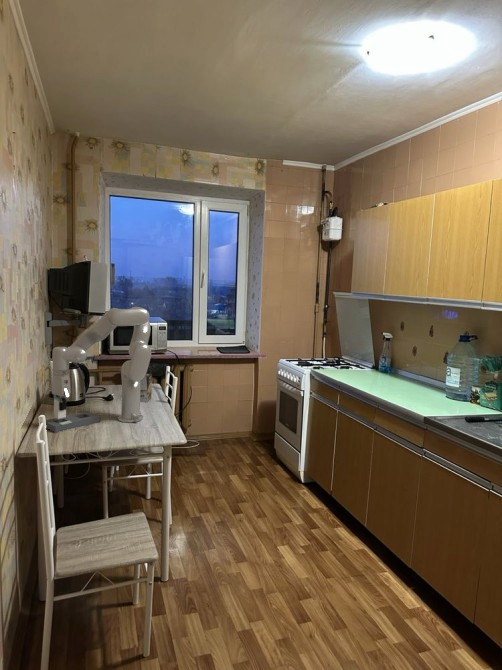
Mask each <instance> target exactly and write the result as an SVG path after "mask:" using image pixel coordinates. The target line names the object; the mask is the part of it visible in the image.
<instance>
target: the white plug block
mask: <svg viewBox="0 0 502 670" xmlns="http://www.w3.org/2000/svg"><path fill="white" fill-rule="evenodd" d="M63 398H64V397H62V399H63ZM59 403H60V396H58V397H54V396H53V418H57V419H60V418H64V417H66V416H67V409H66V410H61V411H60V410H59Z"/></svg>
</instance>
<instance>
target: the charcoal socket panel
mask: <svg viewBox="0 0 502 670" xmlns="http://www.w3.org/2000/svg"><path fill="white" fill-rule="evenodd" d="M100 422H101V416H100V415H98V414H95V413H92V412H89V411H82V412H78V413H72V414H69V415H67V414H66V417H64V418H60V419H57V418H55V417H53V418H49V419H46V425H47V428H48V429H50V430H49V431H51V430H52V431H51V432H53V431H54V432H53V433H55V432H56V433H60V432H63V430H64V431H67V429H69V430H72V429H71V428H73V429H76V427H77V428H80V427H85V426H89V425H92V424H97V423H100ZM48 429H47V430H48ZM59 431H60V432H59Z"/></svg>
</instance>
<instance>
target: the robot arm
mask: <svg viewBox="0 0 502 670" xmlns="http://www.w3.org/2000/svg"><path fill="white" fill-rule="evenodd" d="M150 322H151V321H150V313H149V310H147V309H146V308H145V307H144V308H143V307H141V306H133V307H131V308H117V307H113V308H110V309H108V310H107V311H106V312H105V313H104V314H103V315H102V316H101V317H100V318H99V319H98V320H97V322H96V323H94V324H93V325H92V326H91V327H90V328H89V329H87V331H85V332H84V333H83V334H81V335H80V336H79V337H78V338H77V339H75V341H74V342H73V343H72V344H71V345H70V346H69V348H68V347H67V346H56V347H54V348H52V355H51V357H52V366H51V368H52V371H51V376H52V379H51V394H52V396H53V398H54V397H58V396H60V403H59V410H60V411H61V410H66V411H67V402H68V399H70V396H71V378H70V363H77V364H79V363H83V362H84V361H86V359H87V357H88V353H87V351H88V350H89V349H90V348H91V347H92V346H94V345H95V344H96V343H99V342H102V341H103V340H105V339H106V338H107V337H108V336H109V335H110V334H112V332H113V331H114V330H115V329H116V328H117V327H129V326H133V333H132V337H131V340H130V344H129V346H128V354H129V356H130V357H131V358H130V359H128V360H126V361H125V362H123V364H122V365H121V367H120V376H121V377H120V378H121V412H120V415H119V416H118V417H117V418H118V421H120V422H123V423H137V422H140V421H142V420H143V418H144V415H143V414H142V413H141V402H140V381H141V380H142V379H143V378H144V377H145V375H146V373H147V372H148V368H149V365H150V361H151V358H152V349H151V346H149V341H150V336H151V323H150ZM62 397H64V398H63V399H62Z"/></svg>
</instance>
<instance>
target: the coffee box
mask: <svg viewBox="0 0 502 670" xmlns="http://www.w3.org/2000/svg"><path fill="white" fill-rule="evenodd" d="M152 392H153V374H152V373H147V372H146V375H145V377H144V378H143V379H142V380H141V381H140V403H141V402H143V403H148V402H150V400H152V394H153V393H152Z"/></svg>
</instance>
